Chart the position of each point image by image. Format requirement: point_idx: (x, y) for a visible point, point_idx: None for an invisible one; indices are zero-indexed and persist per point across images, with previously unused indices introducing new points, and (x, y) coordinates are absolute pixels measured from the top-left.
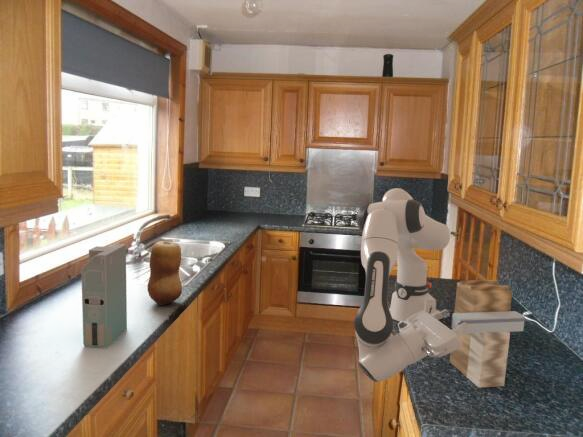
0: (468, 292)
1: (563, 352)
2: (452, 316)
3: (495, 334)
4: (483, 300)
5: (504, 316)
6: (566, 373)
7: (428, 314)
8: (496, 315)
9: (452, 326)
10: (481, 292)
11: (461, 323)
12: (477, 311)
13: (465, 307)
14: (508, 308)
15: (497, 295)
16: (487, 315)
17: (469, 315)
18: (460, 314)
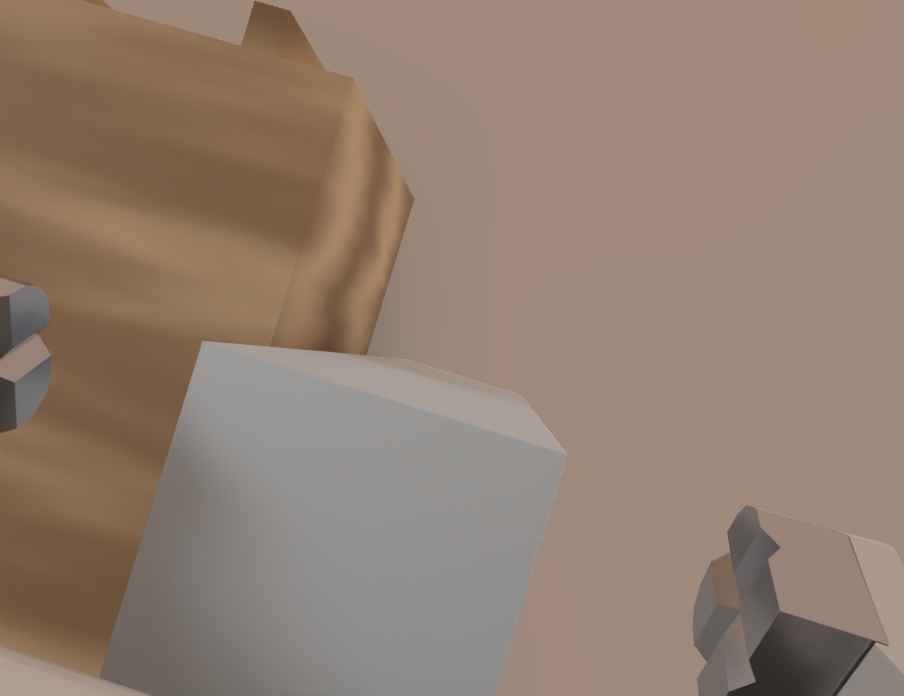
0: (182, 87)
1: None
2: (183, 418)
3: None
4: (343, 220)
5: (509, 396)
6: None
7: None
8: (473, 387)
9: (156, 662)
10: (367, 113)
11: (864, 584)
12: (287, 345)
13: (82, 295)
14: (368, 337)
15: (385, 202)
16: (458, 387)
17: (412, 386)
18: (326, 369)
